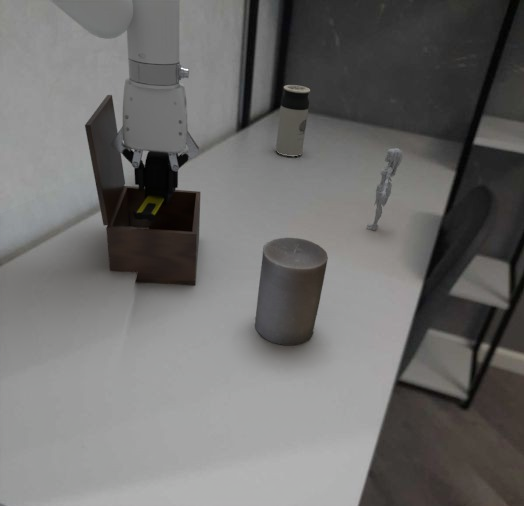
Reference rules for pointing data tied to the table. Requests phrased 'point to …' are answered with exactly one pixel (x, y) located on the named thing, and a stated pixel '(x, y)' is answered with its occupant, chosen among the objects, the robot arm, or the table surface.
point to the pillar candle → (289, 290)
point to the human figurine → (386, 183)
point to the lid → (105, 157)
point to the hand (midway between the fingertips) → (156, 188)
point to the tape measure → (155, 185)
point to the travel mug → (292, 120)
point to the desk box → (156, 238)
